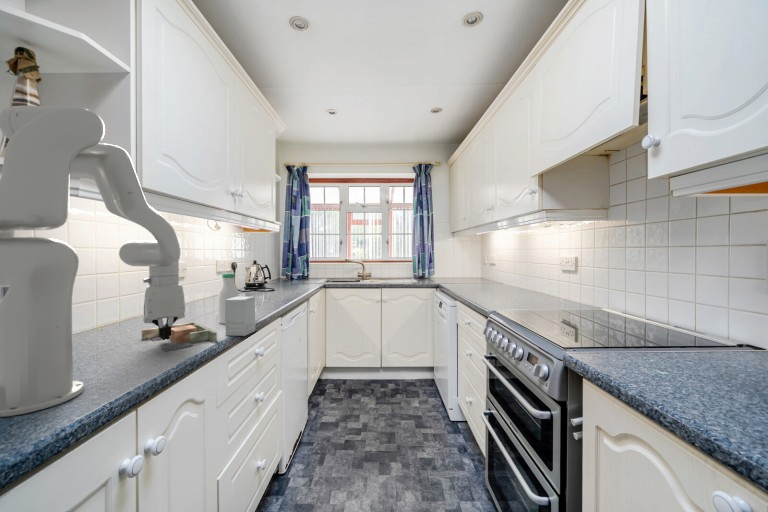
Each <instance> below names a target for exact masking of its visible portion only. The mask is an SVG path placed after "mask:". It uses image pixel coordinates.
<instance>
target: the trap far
mask: <svg viewBox="0 0 768 512" xmlns="http://www.w3.org/2000/svg"><path fill="white" fill-rule="evenodd" d="M151 339H152V340H153V342H155V341H154V340H157V341H162V340H161V337H160V338H159V336H156V337H151ZM151 339H150V340H151ZM169 339H170V336H169ZM152 340H151V341H152Z"/></svg>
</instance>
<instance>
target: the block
mask: <svg viewBox="0 0 768 512" xmlns="http://www.w3.org/2000/svg"><path fill="white" fill-rule="evenodd" d="M193 332H197V328H196V327H194V326H192V325H188V326H181V327H175V328H171V336H170V338H169V341H171V342H172V343H173V344H181V343H186V342H190V333H193Z"/></svg>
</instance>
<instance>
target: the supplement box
mask: <svg viewBox="0 0 768 512" xmlns="http://www.w3.org/2000/svg"><path fill="white" fill-rule="evenodd" d="M224 325H225V336H227V337H228V336H235V337H237V336H239V337H241V336H243V337H246V336H248V335H250V334H252V333H254V332H256V297H255V296H239V297H233V298H230V299H226V300H225V324H224Z"/></svg>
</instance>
